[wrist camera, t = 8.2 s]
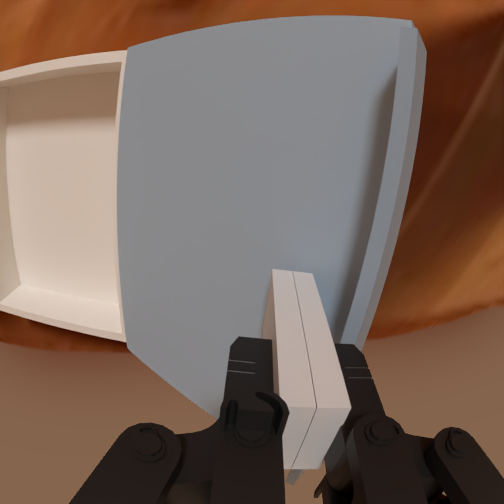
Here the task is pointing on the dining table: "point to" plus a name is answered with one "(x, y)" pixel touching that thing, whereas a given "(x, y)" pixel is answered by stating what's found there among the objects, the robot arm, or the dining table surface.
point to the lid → (260, 181)
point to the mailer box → (62, 193)
